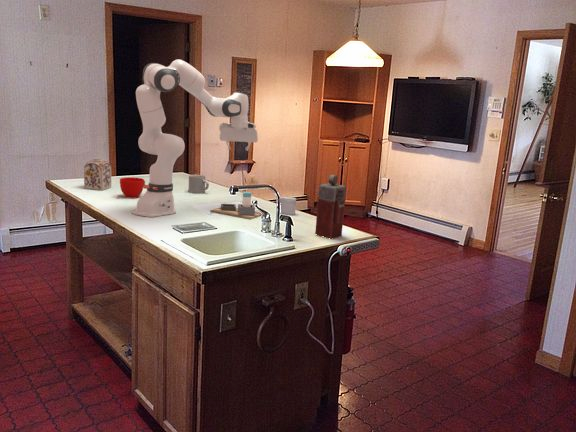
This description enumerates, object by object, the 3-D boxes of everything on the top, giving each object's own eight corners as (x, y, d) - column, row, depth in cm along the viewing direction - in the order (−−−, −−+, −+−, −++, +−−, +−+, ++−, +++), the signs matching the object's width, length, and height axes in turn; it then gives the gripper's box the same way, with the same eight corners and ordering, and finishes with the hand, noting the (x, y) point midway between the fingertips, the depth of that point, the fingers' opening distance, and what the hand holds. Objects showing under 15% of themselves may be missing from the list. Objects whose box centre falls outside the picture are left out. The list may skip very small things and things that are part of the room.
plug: (250, 214, 267) (251, 193, 264) (242, 214, 266) (243, 193, 264) (249, 212, 270) (250, 191, 268) (241, 212, 270) (242, 191, 267)
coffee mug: (185, 191, 321) (185, 175, 318) (197, 190, 328) (197, 174, 326) (199, 195, 313) (200, 178, 310) (212, 193, 320) (212, 177, 318)
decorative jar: (102, 190, 306) (101, 160, 302) (83, 189, 307) (83, 158, 304) (112, 187, 317) (111, 158, 313) (94, 185, 319) (93, 156, 315)
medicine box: (295, 214, 280) (296, 198, 278) (293, 215, 276) (294, 199, 274) (281, 212, 282) (282, 196, 280) (278, 213, 278) (279, 197, 276)
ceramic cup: (153, 195, 302) (153, 178, 299) (133, 200, 286) (133, 182, 284) (135, 192, 307) (135, 175, 304) (114, 196, 292) (114, 179, 289)
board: (250, 219, 261) (250, 217, 260) (210, 212, 271) (210, 210, 271) (263, 214, 273) (264, 212, 273) (225, 207, 283) (225, 206, 283)
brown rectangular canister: (335, 240, 233) (340, 177, 227) (314, 234, 240) (319, 174, 234) (346, 236, 240) (351, 176, 234) (326, 231, 247) (331, 172, 241)
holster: (235, 211, 273) (235, 207, 272) (221, 210, 272) (221, 206, 271) (235, 207, 280) (235, 204, 279) (221, 207, 279) (221, 203, 278)
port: (254, 215, 265) (255, 208, 264) (238, 215, 264) (239, 207, 263) (253, 212, 273) (253, 204, 272) (237, 211, 271) (238, 204, 271)
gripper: (219, 123, 274) (218, 149, 277) (258, 125, 277) (257, 151, 280) (219, 122, 280) (218, 148, 283) (257, 124, 283) (256, 150, 286)
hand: (238, 150), depth 282 cm, fingers open, 8 cm apart
